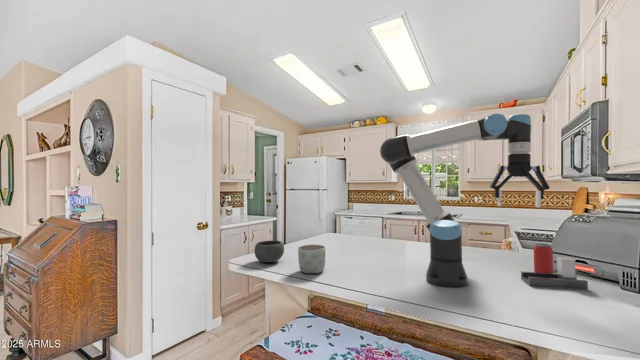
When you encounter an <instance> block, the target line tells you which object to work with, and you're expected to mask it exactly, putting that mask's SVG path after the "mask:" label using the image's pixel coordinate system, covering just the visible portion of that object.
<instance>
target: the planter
mask: <svg viewBox="0 0 640 360" xmlns="http://www.w3.org/2000/svg"><path fill="white" fill-rule="evenodd" d="M326 248H327V247H326V246H325V245H322V244H304V245H299V246H298V247H297V252H298V253H297V255H298V256H297V257H298V268H299V271H300V272H302V273H303V272H304V273H303V274H306V273H310V274H309V275H312V274H311V273H317V274H320V273H322V272H323V271H324V270H325V266H326V251H327V249H326ZM319 272H320V273H319Z"/></svg>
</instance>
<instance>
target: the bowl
mask: <svg viewBox="0 0 640 360" xmlns="http://www.w3.org/2000/svg"><path fill="white" fill-rule="evenodd" d="M284 253H285V245H284V243H283V242H282V241H280V240H264V241H258V242H257V243H256V244H255V246H254V255H255V258H256V260H257V261H259V262H260V263H263V262H273V263H275V262H274V261H276V262H277V261H279V260H280V259H281V258H282V257H283V255H284Z"/></svg>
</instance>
